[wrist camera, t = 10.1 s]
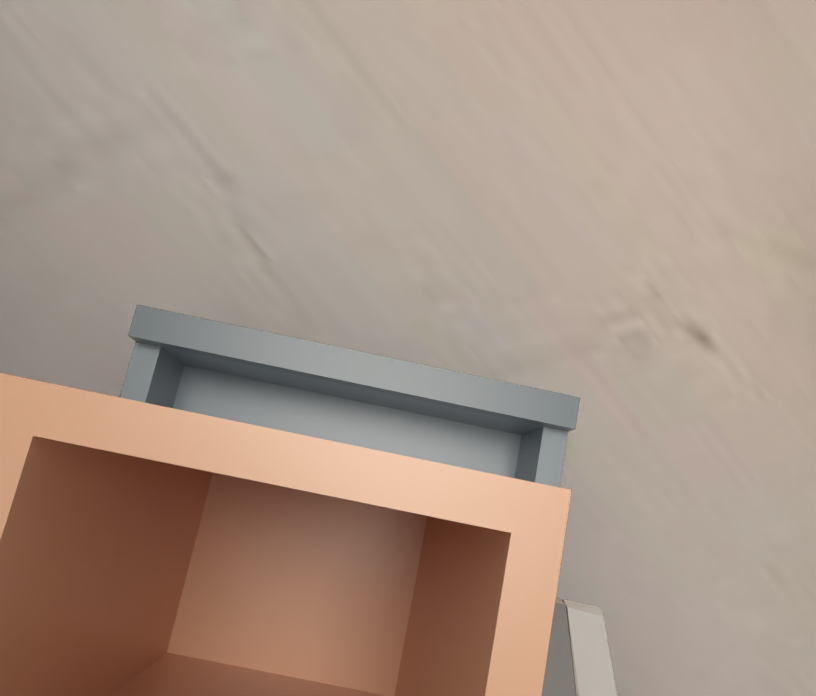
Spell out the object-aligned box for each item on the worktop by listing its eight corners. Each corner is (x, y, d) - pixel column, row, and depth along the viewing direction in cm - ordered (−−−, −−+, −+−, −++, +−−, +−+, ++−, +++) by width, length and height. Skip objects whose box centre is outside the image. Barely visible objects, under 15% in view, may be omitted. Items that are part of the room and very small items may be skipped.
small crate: (143, 667, 15) (-182, 915, 6) (200, 446, 16) (-4, 371, 7) (411, 720, 15) (491, 1042, 6) (452, 497, 16) (571, 490, 7)
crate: (77, 692, 24) (10, 737, 20) (174, 338, 27) (137, 304, 22) (485, 771, 25) (514, 834, 20) (541, 415, 27) (579, 397, 23)
